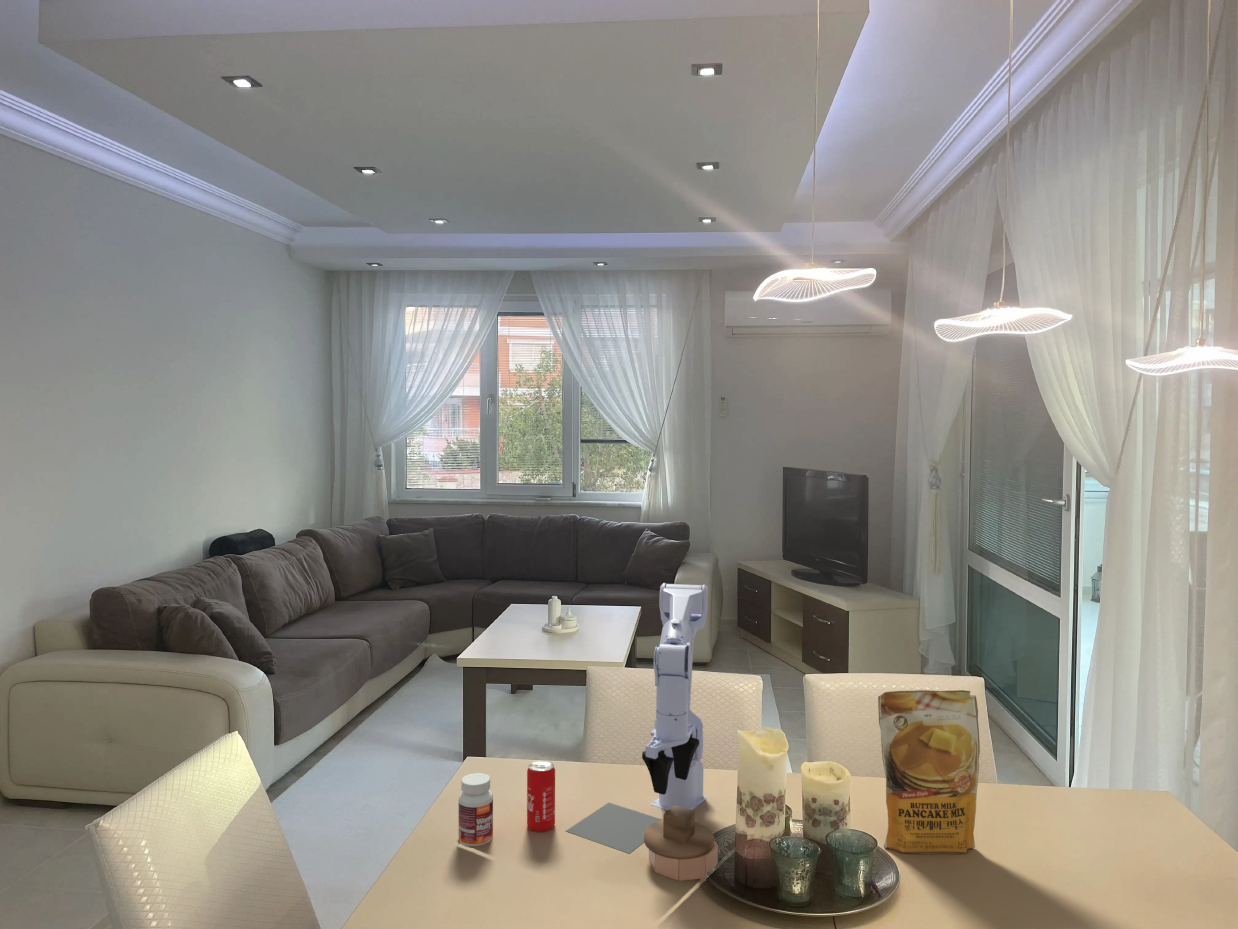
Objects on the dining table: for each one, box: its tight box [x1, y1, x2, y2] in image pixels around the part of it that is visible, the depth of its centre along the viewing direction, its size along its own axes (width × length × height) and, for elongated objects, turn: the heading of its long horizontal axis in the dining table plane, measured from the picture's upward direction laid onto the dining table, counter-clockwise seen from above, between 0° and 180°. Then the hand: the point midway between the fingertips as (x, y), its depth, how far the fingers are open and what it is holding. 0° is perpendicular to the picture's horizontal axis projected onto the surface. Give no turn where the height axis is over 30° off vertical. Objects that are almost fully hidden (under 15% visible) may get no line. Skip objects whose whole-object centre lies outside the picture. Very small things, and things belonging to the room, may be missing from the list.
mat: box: [565, 802, 663, 855], centre depth 154 cm, size 14×14×1 cm
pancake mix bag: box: [877, 689, 981, 855], centre depth 148 cm, size 7×19×28 cm, turn 91°
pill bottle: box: [458, 772, 494, 849], centre depth 149 cm, size 6×6×11 cm
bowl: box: [648, 839, 719, 883], centre depth 141 cm, size 11×11×4 cm
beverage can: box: [526, 760, 556, 833], centre depth 153 cm, size 5×5×12 cm
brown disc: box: [643, 805, 715, 859], centre depth 142 cm, size 12×12×5 cm
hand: (670, 785), depth 149 cm, fingers open, 7 cm apart
